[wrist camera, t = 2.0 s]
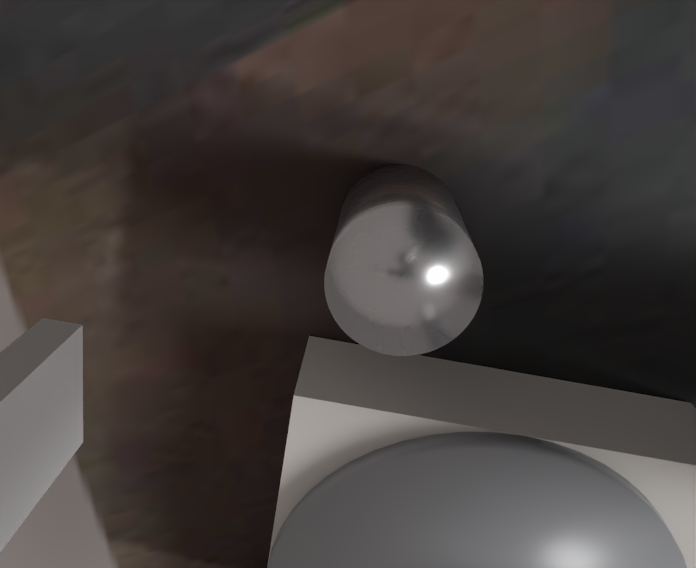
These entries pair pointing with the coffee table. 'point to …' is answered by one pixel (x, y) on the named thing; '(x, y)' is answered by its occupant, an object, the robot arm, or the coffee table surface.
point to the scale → (478, 469)
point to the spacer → (402, 264)
